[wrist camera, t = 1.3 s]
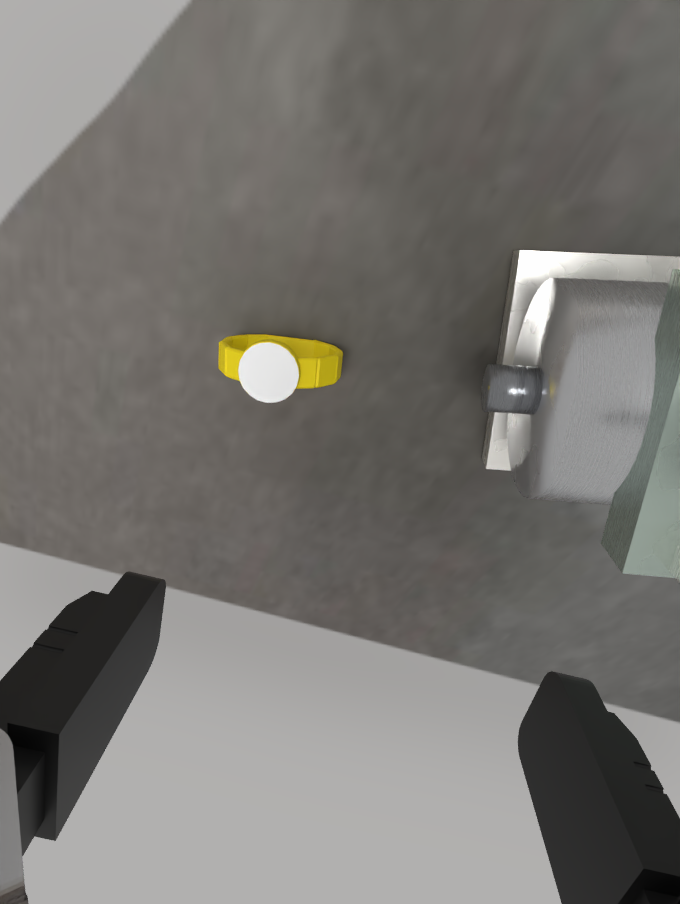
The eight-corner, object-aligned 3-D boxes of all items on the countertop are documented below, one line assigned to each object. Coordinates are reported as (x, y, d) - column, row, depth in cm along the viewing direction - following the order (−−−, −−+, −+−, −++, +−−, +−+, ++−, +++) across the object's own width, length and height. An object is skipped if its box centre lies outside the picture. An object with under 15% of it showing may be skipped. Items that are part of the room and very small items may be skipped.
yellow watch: (345, 329, 27) (343, 349, 22) (340, 379, 28) (336, 410, 23) (234, 317, 27) (204, 334, 22) (233, 368, 28) (204, 396, 23)
